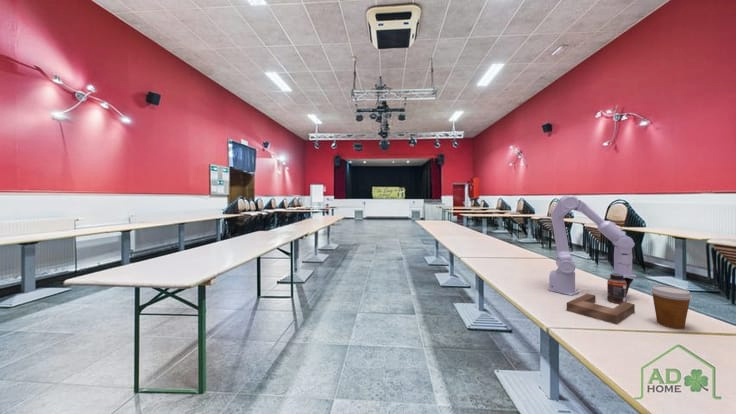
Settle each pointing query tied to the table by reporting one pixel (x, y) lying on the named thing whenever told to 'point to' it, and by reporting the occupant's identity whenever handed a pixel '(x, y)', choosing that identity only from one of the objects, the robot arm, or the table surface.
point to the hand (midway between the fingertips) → (622, 295)
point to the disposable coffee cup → (671, 305)
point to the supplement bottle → (616, 289)
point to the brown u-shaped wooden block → (600, 309)
